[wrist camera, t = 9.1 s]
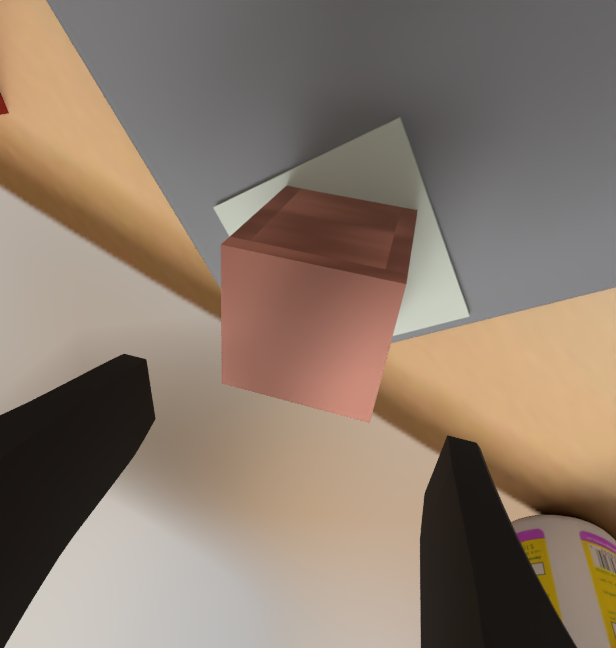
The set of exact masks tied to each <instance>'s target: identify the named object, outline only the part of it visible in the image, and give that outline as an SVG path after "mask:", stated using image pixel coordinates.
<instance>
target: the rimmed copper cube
mask: <svg viewBox="0 0 616 648" xmlns="http://www.w3.org/2000/svg"><path fill="white" fill-rule="evenodd" d="M417 212H418V210H414V209H409V208H403V207H398V206H393V205H387V204H382V203H377V202H371V201H366V200H361V199H355V198H350V197H345V196H339V195H334V194H329V193H323V192H318V191H312V190H307V189H302V188H296V187H291V186H285V187H284V188H283V189H282V190H281V191H280V192H279V193H278V194H277V195H275V196H274V197H273V198H272V199H271V200H270V201H269V202H268V203H266V204H265V205H264V206H263V207H262V208H261V209H260V210H259V211H258V212H256V213H255V214H254V215H253V216H252V217H251V218H250V219H249V220H248V221H246V222H245V223H244V224H243V225H242V226H241V227H240V228H239V229H238V230H236V231H235V232H234V233H233V234H232V235H231V236H230V237H229V238H228V239H226V240H225V241H224V242H223V243H222V244H221V334H222V335H221V336H222V384H227V385H230V386H234V387H237V388H241V389H245V390H249V391H252V392H256V393H260V394H264V395H267V396H271V397H275V398H279V399H283V400H286V401H290V402H294V403H297V404H301V405H305V406H309V407H312V408H316V409H320V410H324V411H327V412H332V413H335V414H339V415H342V416H346V417H350V418H354V419H357V420H361V421H365V422H370V419H371V416H372V412H373V408H374V404H375V401H376V397H377V393H378V389H379V386H380V382H381V378H382V374H383V371H384V367H385V363H386V359H387V355H388V352H389V348H390V344H391V340H392V337H393V333H394V329H395V325H396V322H397V318H398V314H399V310H400V307H401V303H402V299H403V295H404V291H405V288H406V284H407V277H408V271H409V264H410V258H411V251H412V245H413V238H414V232H415V225H416V219H417Z"/></svg>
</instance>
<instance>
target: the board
mask: <svg viewBox="0 0 616 648" xmlns="http://www.w3.org/2000/svg"><path fill="white" fill-rule="evenodd" d="M46 1H47V2H48V4H49V6H50V7H51V9H52V11H53V12H54V14H55V16H56V17H57V19H58V20H59V22H60V24H61V25H62V27H63V29H64V30H65V32H66V34H67V35H68V37H69V39H70V40H71V42H72V44H73V45H74V47H75V49H76V50H77V52H78V54H79V55H80V57H81V58H82V60H83V62H84V63H85V65H86V67H87V68H88V70H89V72H90V73H91V75H92V77H93V78H94V80H95V82H96V83H97V85H98V87H99V88H100V90H101V92H102V93H103V95H104V97H105V98H106V100H107V101H108V103H109V105H110V106H111V108H112V110H113V111H114V113H115V115H116V116H117V118H118V120H119V121H120V123H121V125H122V126H123V128H124V130H125V131H126V133H127V135H128V136H129V138H130V140H131V141H132V143H133V144H134V146H135V148H136V149H137V151H138V153H139V154H140V156H141V158H142V159H143V161H144V163H145V164H146V166H147V168H148V169H149V171H150V173H151V174H152V176H153V178H154V179H155V181H156V182H157V184H158V186H159V187H160V189H161V191H162V192H163V194H164V196H165V197H166V199H167V201H168V202H169V204H170V206H171V207H172V209H173V211H174V212H175V214H176V216H177V217H178V219H179V221H180V222H181V224H182V225H183V227H184V229H185V230H186V232H187V234H188V235H189V237H190V239H191V240H192V242H193V244H194V245H195V247H196V249H197V250H198V252H199V254H200V255H201V257H202V259H203V260H204V262H205V263H206V265H207V267H208V268H209V270H210V272H211V273H212V275H213V277H214V278H215V280H216V282H217V283H218V285H219V287H220V288H221V244H222V243H223V242H224V241H225V240H226V239H228V238H229V237H230V236H231V235H232V234H233V233H234V232H235V231H236V230H238V229H239V228H240V227H241V226H242V225H243V224H244V223H245V222H246V221H248V220H249V219H250V218H251V217H252V216H253V215H254V214H255V213H256V212H258V211H259V210H260V209H261V208H262V207H263V206H264V205H265V204H266V203H268V202H269V201H270V200H271V199H272V198H273V197H274V196H275V195H277V194H278V193H279V192H280V191H281V190H282V189H283V188H284V187H285V186H291V187H296V188H302V189H307V190H312V191H318V192H323V193H329V194H334V195H339V196H345V197H350V198H355V199H361V200H366V201H371V202H377V203H382V204H387V205H393V206H398V207H403V208H409V209H414V210H418V212H417V219H416V225H415V232H414V238H413V245H412V251H411V258H410V264H409V271H408V277H407V284H406V288H405V291H404V295H403V299H402V303H401V307H400V310H399V314H398V318H397V322H396V325H395V329H394V333H393V337H392V340H391V343H393V342H397V341H401V340H405V339H409V338H413V337H417V336H422V335H426V334H430V333H434V332H438V331H442V330H446V329H450V328H454V327H458V326H462V325H466V324H470V323H474V322H478V321H482V320H486V319H490V318H494V317H498V316H502V315H506V314H510V313H514V312H518V311H522V310H526V309H530V308H534V307H538V306H542V305H546V304H550V303H554V302H558V301H562V300H566V299H570V298H574V297H578V296H582V295H586V294H590V293H595V292H599V291H603V290H607V289H611V288H615V287H616V0H46Z"/></svg>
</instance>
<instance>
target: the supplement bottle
mask: <svg viewBox="0 0 616 648" xmlns="http://www.w3.org/2000/svg"><path fill="white" fill-rule="evenodd" d="M511 524H512V526H513V528H514V530H515V532H516V534H517V536H518V538H519V540H520V542H521V544H522V547H523V549H524V551H525V553H526V555H527V557H528V559H529V561H530V563H531V565H532V567H533V569H534V571H535V573H536V575H537V577H538V578H539V580H540V582H541V584H542V586H543V588H544V590H545V591H546V593H547V595H548V597H549V599H550V601H551V603H552V605H553V606H554V608H555V610H556V612H557V613H558V615H559V617H560V619H561V621H562V622H563V624H564V626H565V628H566V629H567V631H568V633H569V635H570V636H571V638H572V640H573V641H574V643H575V645H576V646H577V648H616V541H615V540H614V539H613V538H612V537H611V536H610V535H609V534H608V533H607V532H605V531H604V530H602V529H601V528H599V527H597V526H596V525H594V524H591V523H589V522H587V521H584V520H581V519H577V518H573V517H567V516H560V515H535V516H529V517H524V518H521V519H518V520H515V521H513V522H511Z"/></svg>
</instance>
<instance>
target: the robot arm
mask: <svg viewBox="0 0 616 648" xmlns="http://www.w3.org/2000/svg"><path fill="white" fill-rule="evenodd" d="M154 421H155V413H154V407H153V400H152V394H151V387H150V381H149V374H148V367H147V361H146V359H143V358H139V357H134V356H131V355H127V354H123V355H120V356H118V357H116V358H114V359H112V360H110V361H108V362H106V363H104V364H102V365H100V366H98V367H96V368H94V369H92V370H91V371H88V372H87V373H84V374H83V375H81V376H79V377H77V378H75V379H73V380H71V381H69V382H67V383H66V384H63V385H61V386H59V387H57V388H56V389H54V390H52V391H50V392H48V393H46V394H44V395H42V396H40V397H38V398H36V399H34V400H32V401H30V402H28V403H26V404H24V405H21V406H19V407H17V408H15V409H13V410H11V411H9V412H7V413H5V414H2V415H0V648H4V647H5V645H6V643H7V641H8V640H9V638H10V636H11V635H12V633H13V631H14V630H15V628H16V626H17V625H18V623H19V621H20V619H21V618H22V616H23V615H24V613H25V611H26V609H27V608H28V606H29V604H30V603H31V601H32V599H33V598H34V596H35V594H36V593H37V591H38V590H39V588H40V586H41V585H42V583H43V582H44V580H45V578H46V577H47V575H48V574H49V572H50V571H51V569H52V567H53V566H54V564H55V562H56V561H57V559H58V558H59V556H60V555H61V553H62V552H63V550H64V549H65V547H66V546H67V545H68V543H69V542H70V540H71V539H72V538H73V536H74V535H75V534H76V532H77V531H78V530H79V528H80V527H81V526H82V524H83V523H84V522H85V520H86V519H87V518H88V516H89V515H90V514H91V512H92V511H93V510H94V509H95V507H96V506H97V505H98V503H99V502H100V501H101V499H102V498H103V497H104V495H105V494H106V493H107V491H108V490H109V489H110V488H111V486H112V485H113V484H114V482H115V481H116V480H117V478H118V477H119V476H120V474H121V473H122V472H123V470H124V469H125V468H126V466H127V465H128V464H129V462H130V461H131V459H132V458H133V457H134V455H135V454H136V452H137V450H138V449H139V447H140V445H141V444H142V442H143V440H144V439H145V437H146V435H147V433H148V431H149V430H150V427H151V426H152V424H153V422H154ZM420 590H421V591H420V593H421V597H420V600H421V648H577V646H576V645H575V643H574V641H573V640H572V638H571V636H570V635H569V633H568V631H567V629H566V628H565V626H564V624H563V622H562V621H561V619H560V617H559V615H558V613H557V612H556V610H555V608H554V606H553V605H552V603H551V601H550V599H549V597H548V595H547V593H546V591H545V590H544V588H543V586H542V584H541V582H540V580H539V578H538V577H537V575H536V573H535V571H534V569H533V567H532V565H531V563H530V561H529V559H528V557H527V555H526V553H525V551H524V549H523V547H522V544H521V542H520V540H519V538H518V536H517V534H516V532H515V530H514V528H513V526H512V524H511V521H510V519H509V517H508V515H507V513H506V510H505V508H504V506H503V504H502V502H501V499H500V497H499V494H498V492H497V490H496V487H495V485H494V482H493V480H492V478H491V475H490V473H489V470H488V468H487V465H486V462H485V460H484V457H483V455H482V452H481V449H480V447H479V446H478V444H477V443H475V442H471V441H467V440H463V439H459V438H455V437H451V436H447V438H446V441H445V443H444V446H443V448H442V451H441V453H440V456H439V458H438V461H437V464H436V466H435V469H434V471H433V474H432V476H431V479H430V481H429V484H428V486H427V489H426V492H425V496H424V506H423V515H422V525H421V536H420Z"/></svg>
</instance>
